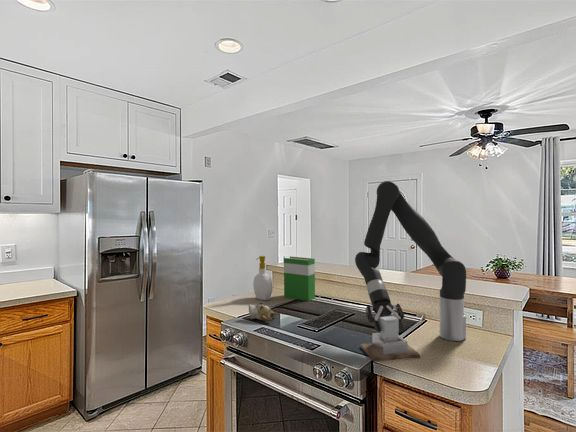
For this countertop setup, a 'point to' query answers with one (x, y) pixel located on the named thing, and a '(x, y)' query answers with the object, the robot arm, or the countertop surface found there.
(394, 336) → the skincare box
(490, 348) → the countertop surface
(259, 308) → the ceramic sculpture
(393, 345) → the steel slot collar
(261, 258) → the soap bottle
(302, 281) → the green cereal box
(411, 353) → the walnut board
